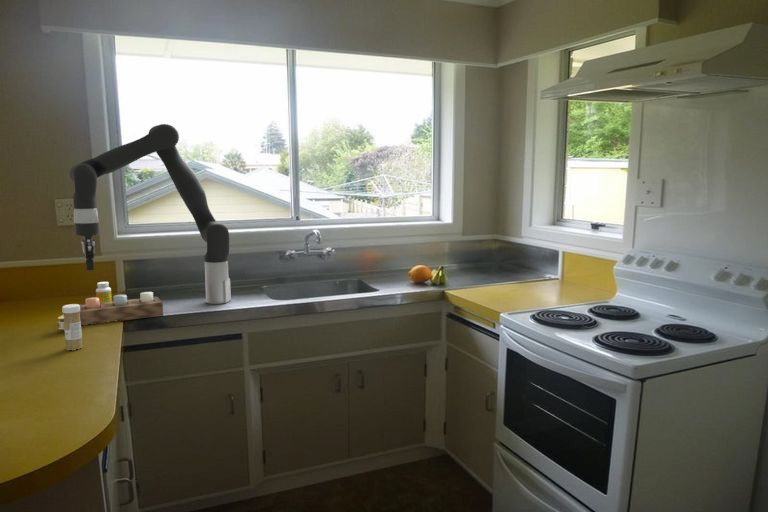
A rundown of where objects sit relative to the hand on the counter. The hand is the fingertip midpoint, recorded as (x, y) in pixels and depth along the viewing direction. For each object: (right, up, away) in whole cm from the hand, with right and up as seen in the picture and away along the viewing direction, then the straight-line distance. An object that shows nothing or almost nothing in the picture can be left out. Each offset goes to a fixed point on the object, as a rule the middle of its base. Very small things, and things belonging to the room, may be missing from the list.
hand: (90, 269), depth 185 cm
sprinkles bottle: (+11, -23, -28) cm, 38 cm away
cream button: (+15, -14, +12) cm, 24 cm away
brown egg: (0, -15, +2) cm, 16 cm away
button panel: (+7, -18, +8) cm, 21 cm away
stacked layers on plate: (-1, -21, -10) cm, 23 cm away
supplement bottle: (-7, -15, +23) cm, 29 cm away
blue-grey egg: (+7, -15, +7) cm, 18 cm away
